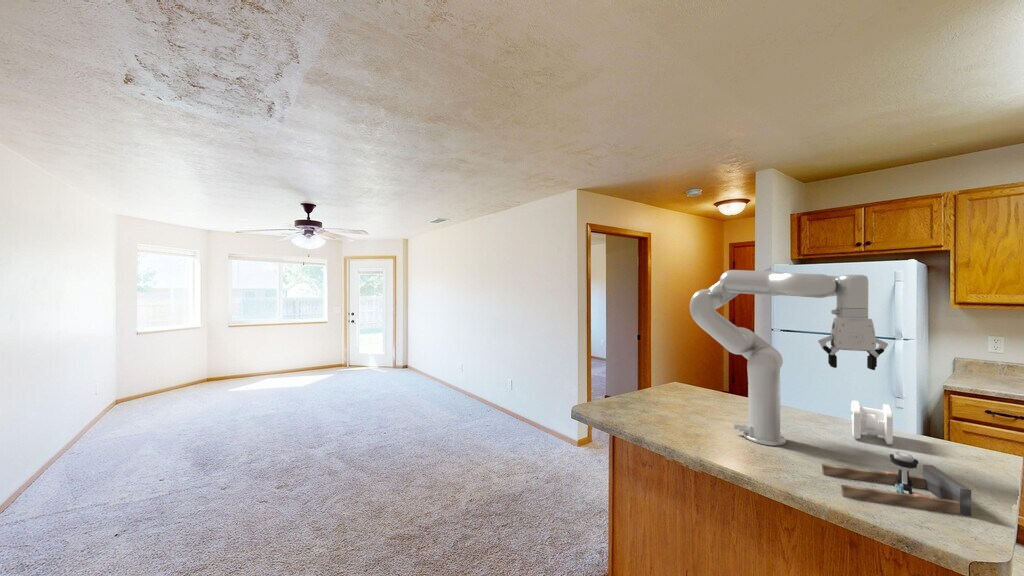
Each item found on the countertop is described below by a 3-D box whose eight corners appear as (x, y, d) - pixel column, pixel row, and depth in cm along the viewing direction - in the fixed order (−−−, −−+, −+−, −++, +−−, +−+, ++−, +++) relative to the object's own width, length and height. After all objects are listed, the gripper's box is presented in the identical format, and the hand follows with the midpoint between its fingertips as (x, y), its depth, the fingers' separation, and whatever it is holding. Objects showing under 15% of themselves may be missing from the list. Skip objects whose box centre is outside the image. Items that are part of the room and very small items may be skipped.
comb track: (843, 496, 100) (843, 473, 100) (821, 472, 112) (821, 452, 112) (971, 515, 91) (971, 490, 91) (932, 487, 104) (932, 465, 104)
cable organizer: (893, 448, 129) (893, 414, 129) (851, 440, 136) (851, 407, 136) (889, 435, 140) (889, 403, 140) (850, 428, 147) (850, 398, 147)
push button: (921, 502, 97) (921, 463, 97) (891, 495, 100) (891, 457, 100) (916, 491, 102) (916, 453, 102) (888, 485, 105) (888, 448, 105)
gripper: (823, 314, 121) (823, 368, 121) (894, 315, 115) (894, 372, 116) (814, 312, 128) (814, 364, 128) (880, 313, 123) (880, 367, 123)
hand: (852, 368), depth 122 cm, fingers open, 9 cm apart
